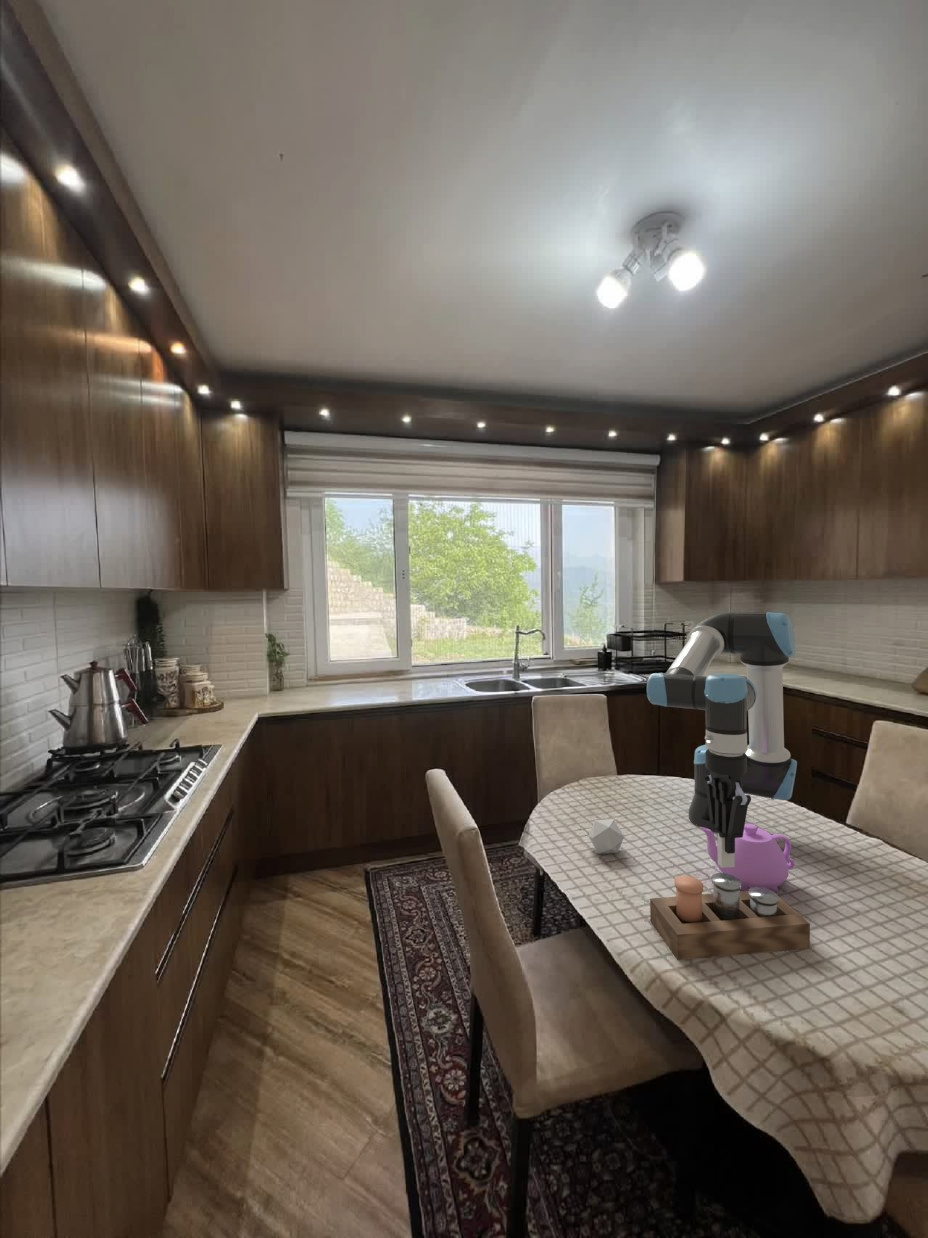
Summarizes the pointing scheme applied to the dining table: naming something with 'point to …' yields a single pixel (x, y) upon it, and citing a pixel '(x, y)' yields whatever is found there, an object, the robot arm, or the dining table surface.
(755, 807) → the dining table surface
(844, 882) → the dining table surface
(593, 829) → the die
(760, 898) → the grey plug near
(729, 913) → the grey plug mid
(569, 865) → the dining table surface
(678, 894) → the peach plug
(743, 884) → the teapot
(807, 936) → the wooden compartment tray
